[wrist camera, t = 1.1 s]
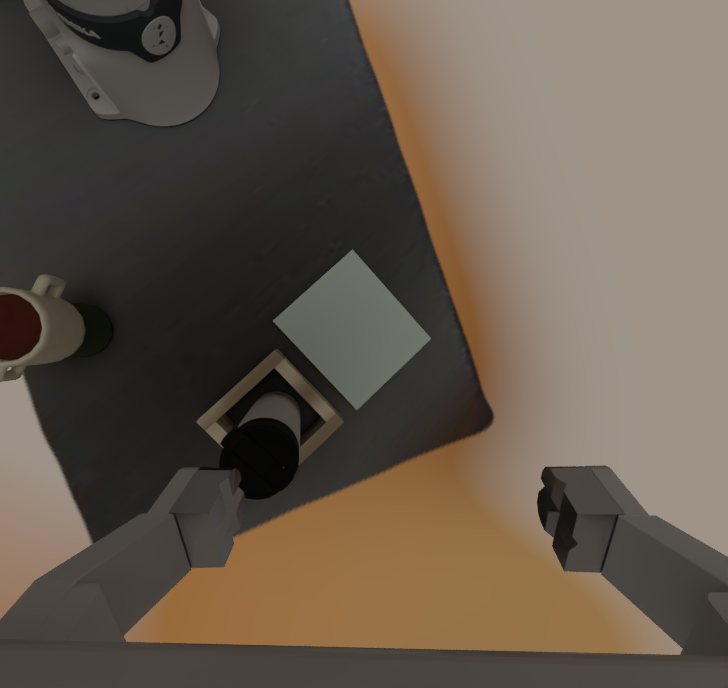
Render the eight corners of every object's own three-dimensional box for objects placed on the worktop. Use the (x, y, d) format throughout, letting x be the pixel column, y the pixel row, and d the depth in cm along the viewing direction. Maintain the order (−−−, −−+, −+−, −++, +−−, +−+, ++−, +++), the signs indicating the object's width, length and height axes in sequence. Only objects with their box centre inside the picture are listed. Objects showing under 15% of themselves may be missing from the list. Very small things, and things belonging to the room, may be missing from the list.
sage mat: (273, 321, 49) (272, 321, 48) (351, 251, 50) (352, 249, 49) (355, 408, 51) (356, 410, 50) (428, 338, 52) (431, 338, 51)
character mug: (76, 276, 45) (-14, 251, 32) (135, 301, 46) (70, 287, 33) (35, 359, 44) (-73, 368, 32) (96, 383, 46) (15, 400, 33)
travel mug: (274, 378, 49) (256, 405, 29) (310, 413, 50) (316, 462, 30) (239, 413, 48) (196, 464, 29) (275, 448, 49) (258, 521, 29)
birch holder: (206, 413, 48) (195, 421, 43) (277, 348, 49) (274, 349, 44) (272, 478, 49) (269, 493, 44) (339, 413, 50) (344, 422, 45)
